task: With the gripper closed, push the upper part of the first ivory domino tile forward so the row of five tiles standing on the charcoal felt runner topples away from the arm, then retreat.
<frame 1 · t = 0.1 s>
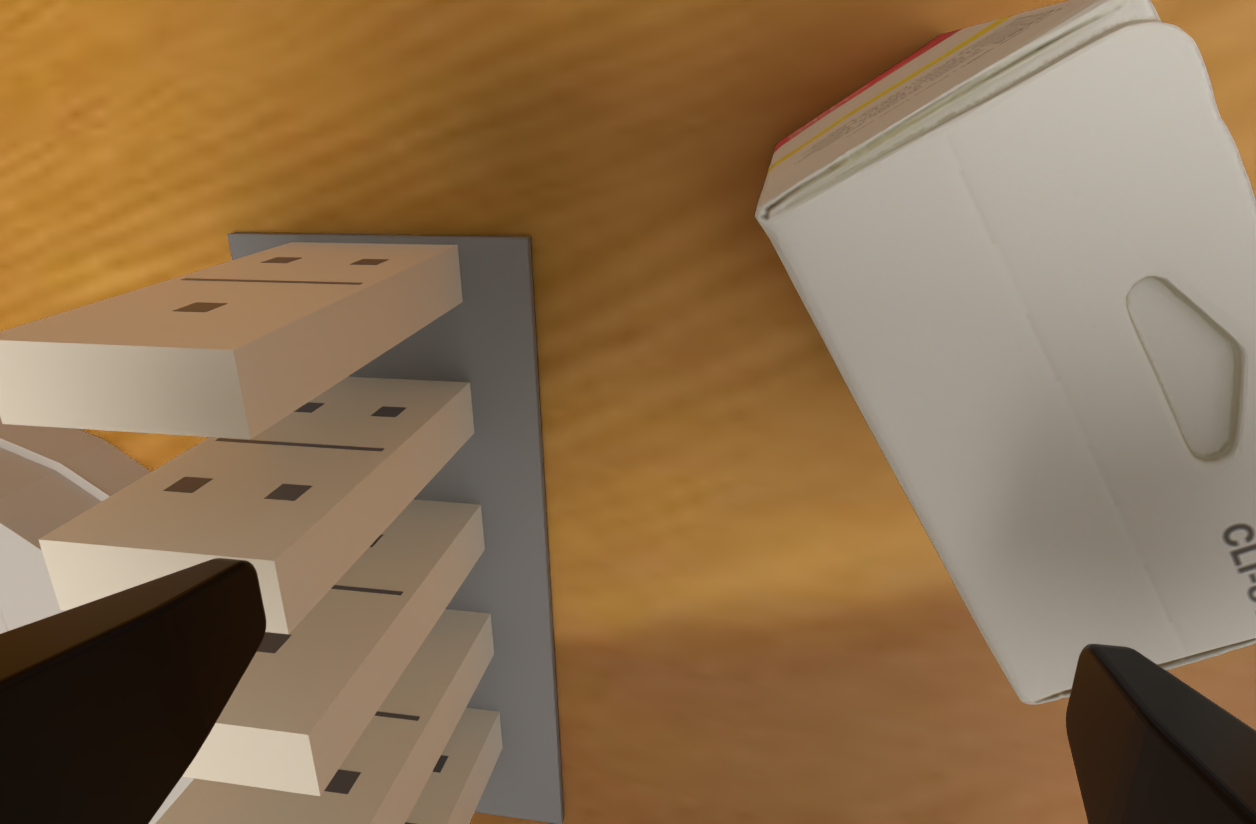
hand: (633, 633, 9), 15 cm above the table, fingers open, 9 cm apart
tile 3: (408, 521, 26), resting on runner
ink box: (931, 240, 21), on the table
tile 1: (433, 721, 29), resting on runner
tile 5: (376, 271, 24), resting on runner
tile 2: (421, 626, 28), resting on runner
runner: (417, 557, 27), on the table
dish: (60, 654, 33), on the table
tile 4: (393, 403, 25), resting on runner
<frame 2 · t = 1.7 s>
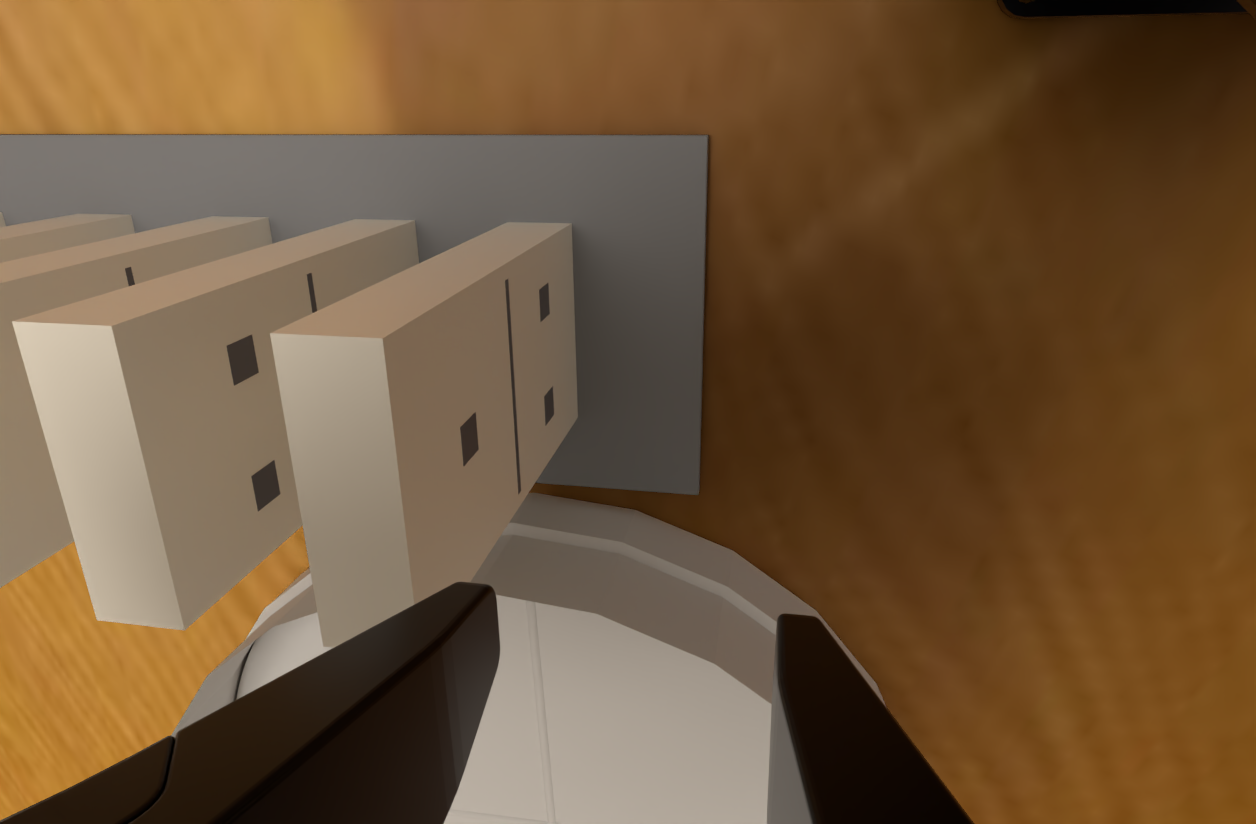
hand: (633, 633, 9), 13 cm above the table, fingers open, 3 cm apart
tile 3: (256, 311, 22), resting on runner
tile 1: (544, 323, 21), resting on runner
tile 2: (395, 317, 22), resting on runner
runner: (313, 310, 22), on the table
dish: (565, 784, 28), on the table
tile 4: (125, 306, 23), resting on runner
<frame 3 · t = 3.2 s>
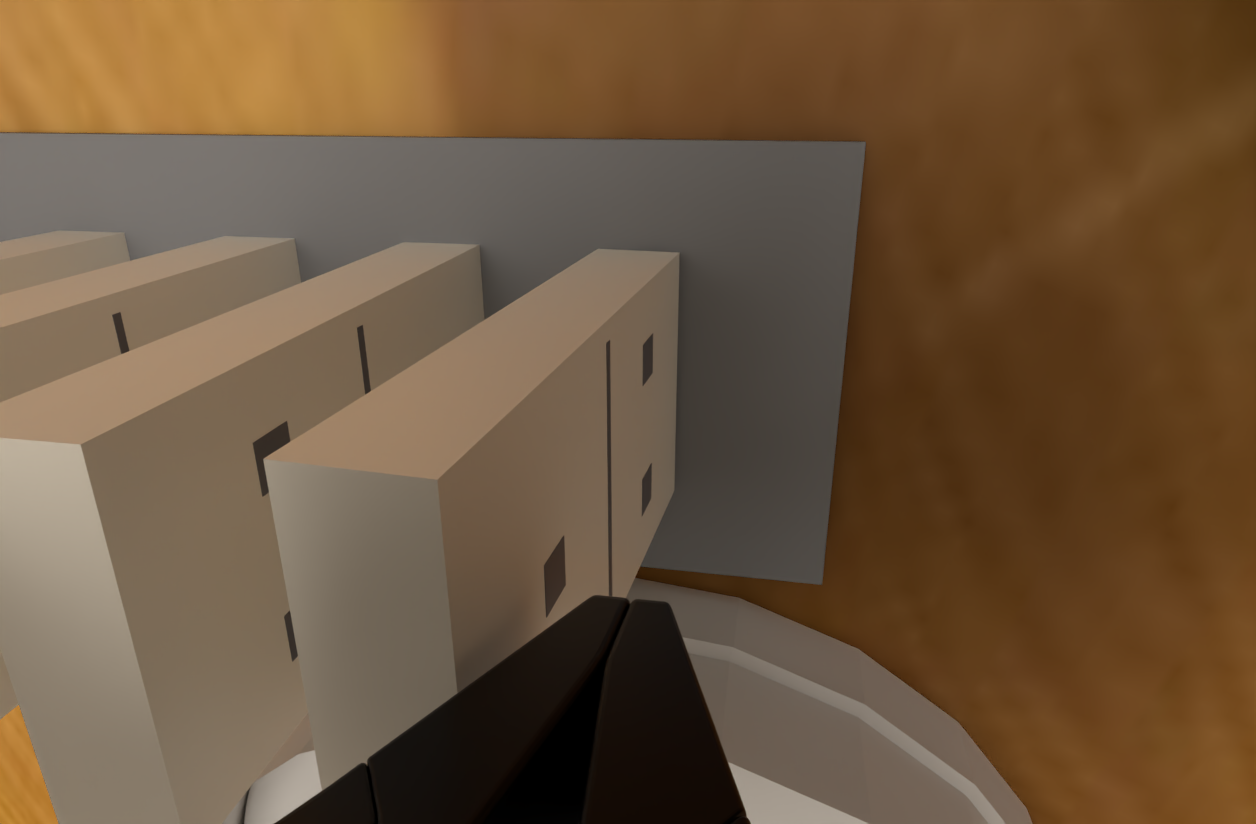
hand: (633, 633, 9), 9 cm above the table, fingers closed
tile 3: (278, 352, 18), resting on runner
tile 1: (637, 374, 17), resting on runner
tile 2: (451, 362, 17), resting on runner
runner: (348, 352, 18), on the table
tile 4: (117, 342, 19), resting on runner
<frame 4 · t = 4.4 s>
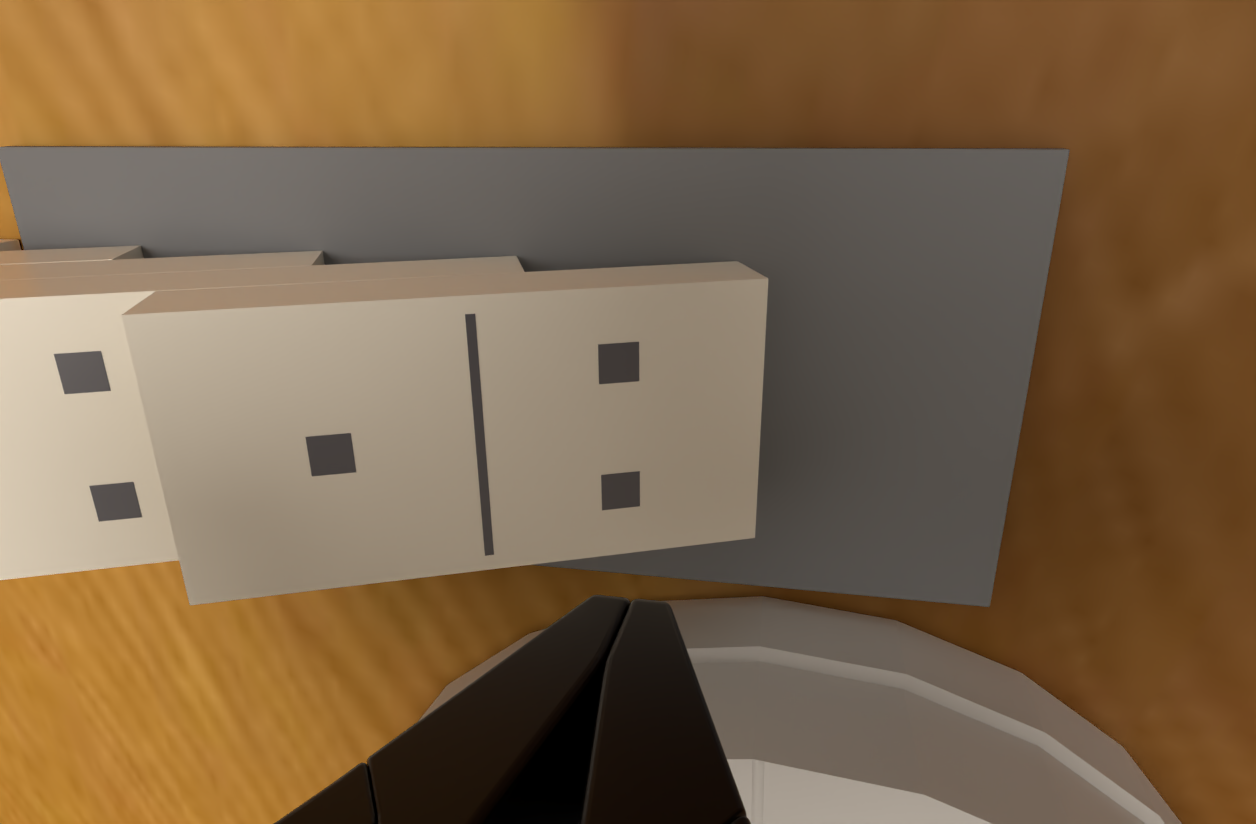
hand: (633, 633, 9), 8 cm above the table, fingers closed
tile 3: (334, 378, 17), point 1 cm above the table, tilted 68°, touching runner, tile 2, tile 4
tile 1: (746, 400, 16), point 1 cm above the table, tilted 68°, touching runner, tile 2
tile 2: (527, 389, 16), point 1 cm above the table, tilted 67°, touching tile 1, tile 3
runner: (492, 370, 18), on the table
tile 4: (153, 368, 18), point 1 cm above the table, tilted 69°, touching runner, tile 3, tile 5
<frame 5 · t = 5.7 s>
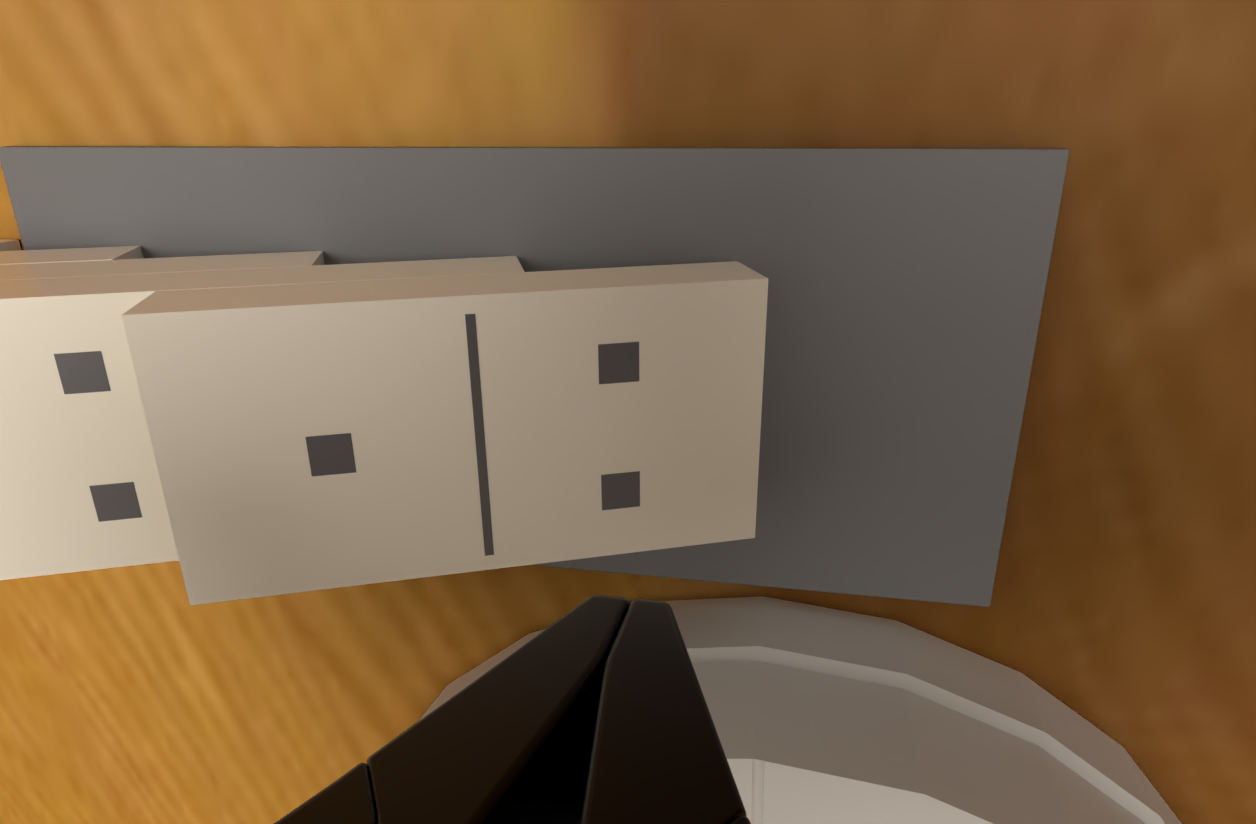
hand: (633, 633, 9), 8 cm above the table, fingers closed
tile 3: (334, 378, 17), point 1 cm above the table, tilted 68°, touching runner, tile 2, tile 4
tile 1: (746, 401, 16), point 1 cm above the table, tilted 68°, touching runner, tile 2
tile 2: (527, 389, 16), point 1 cm above the table, tilted 67°, touching tile 1, tile 3
runner: (492, 370, 18), on the table
tile 4: (153, 368, 18), point 1 cm above the table, tilted 69°, touching runner, tile 3, tile 5
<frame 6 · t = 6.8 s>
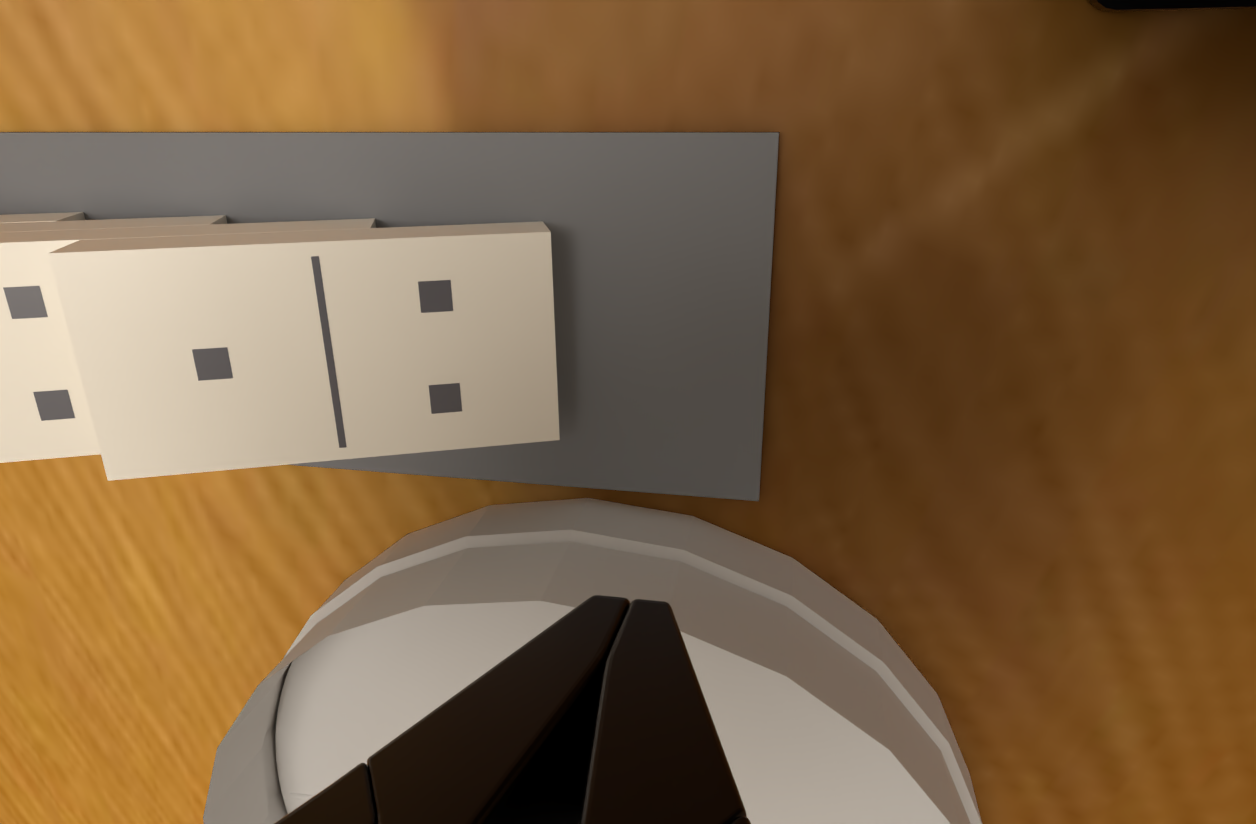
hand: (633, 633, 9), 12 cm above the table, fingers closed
tile 3: (236, 317, 21), point 1 cm above the table, tilted 68°, touching runner, tile 2, tile 4
tile 1: (551, 331, 20), point 1 cm above the table, tilted 68°, touching runner, tile 2
tile 2: (384, 324, 21), point 1 cm above the table, tilted 67°, touching tile 1, tile 3
runner: (364, 312, 22), on the table
dish: (611, 793, 27), on the table
tile 4: (94, 311, 22), point 1 cm above the table, tilted 69°, touching runner, tile 3, tile 5
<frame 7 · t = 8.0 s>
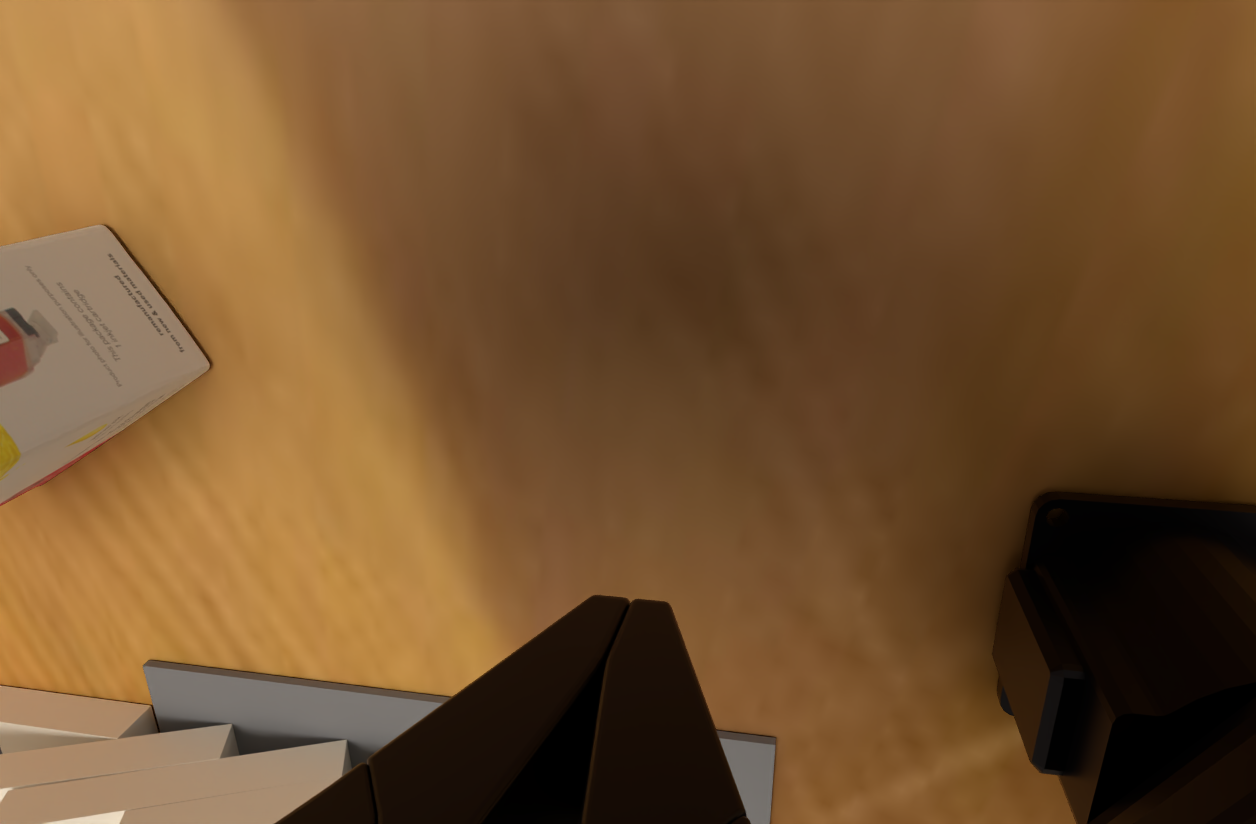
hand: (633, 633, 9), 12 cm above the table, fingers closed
tile 3: (354, 815, 28), point 1 cm above the table, tilted 68°, touching runner, tile 2, tile 4
ink box: (78, 363, 25), on the table
tile 5: (150, 778, 29), point 1 cm above the table, tilted 90°, touching tile 4
runner: (452, 804, 28), on the table
tile 4: (239, 798, 28), point 1 cm above the table, tilted 69°, touching runner, tile 3, tile 5
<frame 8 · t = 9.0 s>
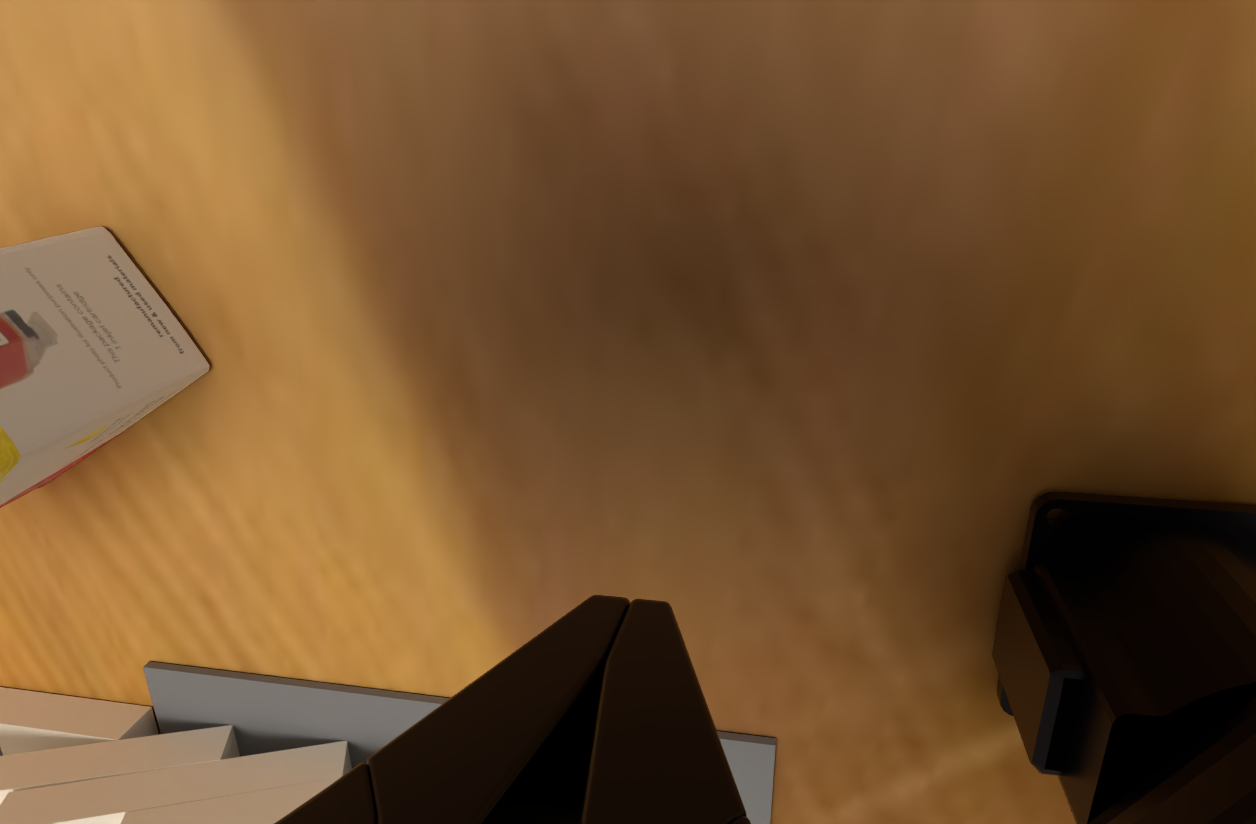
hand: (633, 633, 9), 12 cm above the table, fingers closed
tile 3: (354, 816, 28), point 1 cm above the table, tilted 68°, touching runner, tile 2, tile 4
ink box: (78, 364, 25), on the table
tile 5: (151, 779, 29), point 1 cm above the table, tilted 90°, touching tile 4
runner: (453, 804, 28), on the table
tile 4: (240, 799, 28), point 1 cm above the table, tilted 69°, touching runner, tile 3, tile 5
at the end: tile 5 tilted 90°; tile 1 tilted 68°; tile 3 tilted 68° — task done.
